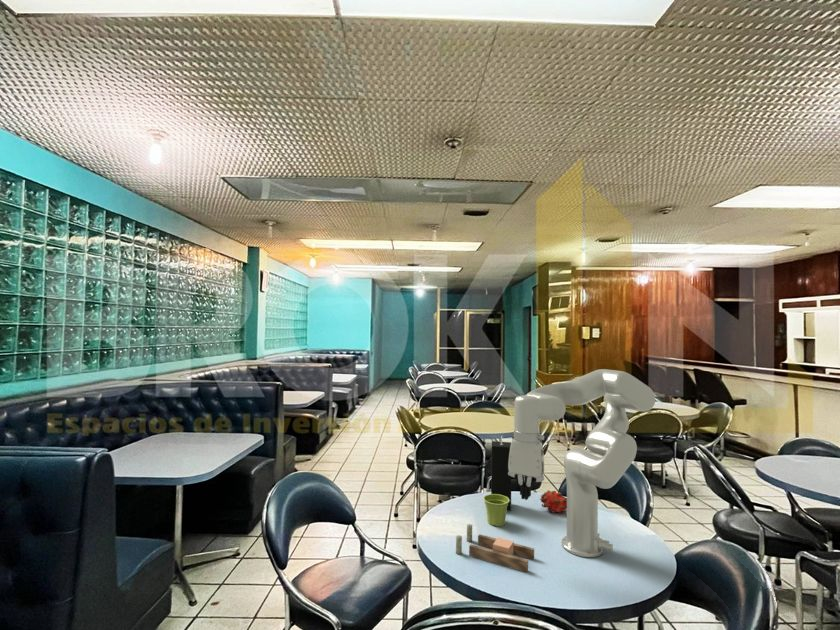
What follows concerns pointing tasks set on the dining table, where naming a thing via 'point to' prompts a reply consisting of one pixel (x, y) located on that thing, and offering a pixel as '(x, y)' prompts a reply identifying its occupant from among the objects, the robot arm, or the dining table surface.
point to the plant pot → (496, 508)
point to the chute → (494, 555)
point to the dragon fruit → (554, 501)
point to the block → (503, 546)
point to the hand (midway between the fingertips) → (525, 497)
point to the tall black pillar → (501, 470)
